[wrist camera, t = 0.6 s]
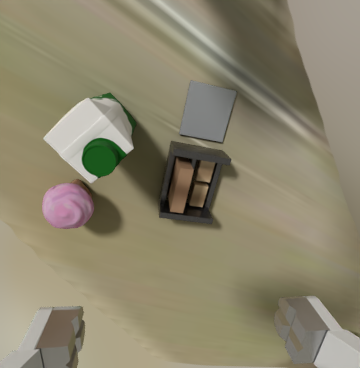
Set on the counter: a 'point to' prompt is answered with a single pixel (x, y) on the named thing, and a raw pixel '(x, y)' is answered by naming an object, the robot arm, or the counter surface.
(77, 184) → the cupcake
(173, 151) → the rack
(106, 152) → the milk carton
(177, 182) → the brown flat block
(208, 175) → the oak offcut
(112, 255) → the counter surface
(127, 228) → the counter surface
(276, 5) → the counter surface
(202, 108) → the grey mat
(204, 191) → the oak offcut
